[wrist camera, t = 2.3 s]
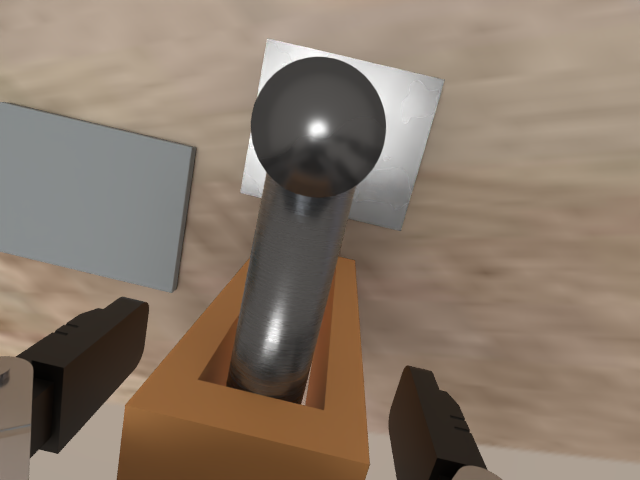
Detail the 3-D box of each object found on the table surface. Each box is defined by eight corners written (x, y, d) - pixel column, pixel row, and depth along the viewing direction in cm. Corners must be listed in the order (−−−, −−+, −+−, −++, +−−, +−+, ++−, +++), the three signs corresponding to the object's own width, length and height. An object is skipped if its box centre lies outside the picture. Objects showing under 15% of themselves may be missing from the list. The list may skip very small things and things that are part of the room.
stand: (437, 84, 18) (708, -92, 5) (355, 367, 22) (370, 729, 9) (273, 46, 18) (57, -242, 5) (221, 335, 22) (21, 643, 9)
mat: (196, 147, 20) (191, 147, 19) (176, 288, 22) (171, 292, 21) (8, 102, 20) (-2, 101, 19) (5, 247, 22) (-4, 250, 21)
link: (355, 260, 17) (369, 464, 6) (331, 348, 18) (309, 651, 7) (265, 239, 17) (124, 405, 6) (247, 328, 18) (102, 600, 7)
